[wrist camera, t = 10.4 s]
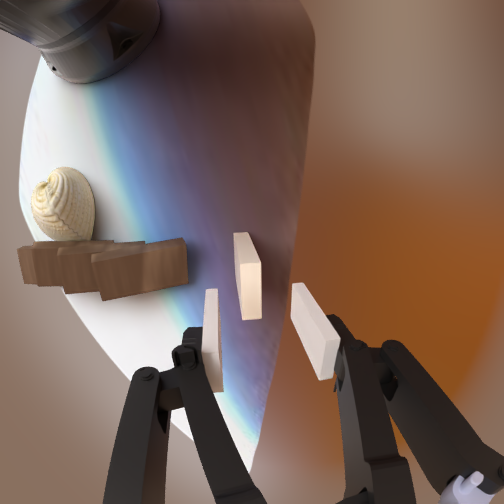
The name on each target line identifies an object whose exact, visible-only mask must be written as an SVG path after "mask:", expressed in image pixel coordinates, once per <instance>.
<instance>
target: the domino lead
mask: <svg viewBox="0 0 504 504" xmlns="http://www.w3.org/2000/svg"><path fill="white" fill-rule="evenodd" d="M233 234H234V257H235V276H236V282H237V289H238V295H239V301H240V308H241V314H242V320H251V319H262V309H261V261H260V259H259V257H258V254H257V252H256V250H255V248H254V245H253V243H252V241H251V238H250V236H249V234H248V232H242V233H233Z"/></svg>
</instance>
